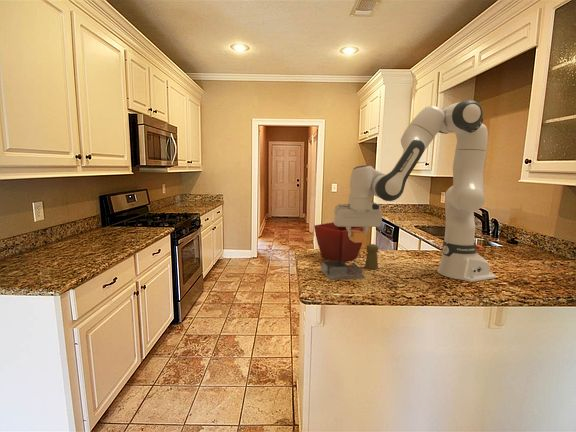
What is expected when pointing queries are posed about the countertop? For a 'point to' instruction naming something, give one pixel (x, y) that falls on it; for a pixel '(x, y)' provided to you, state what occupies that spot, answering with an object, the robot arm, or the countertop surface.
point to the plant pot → (336, 242)
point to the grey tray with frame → (341, 270)
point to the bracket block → (357, 236)
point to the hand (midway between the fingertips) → (356, 236)
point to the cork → (371, 257)
